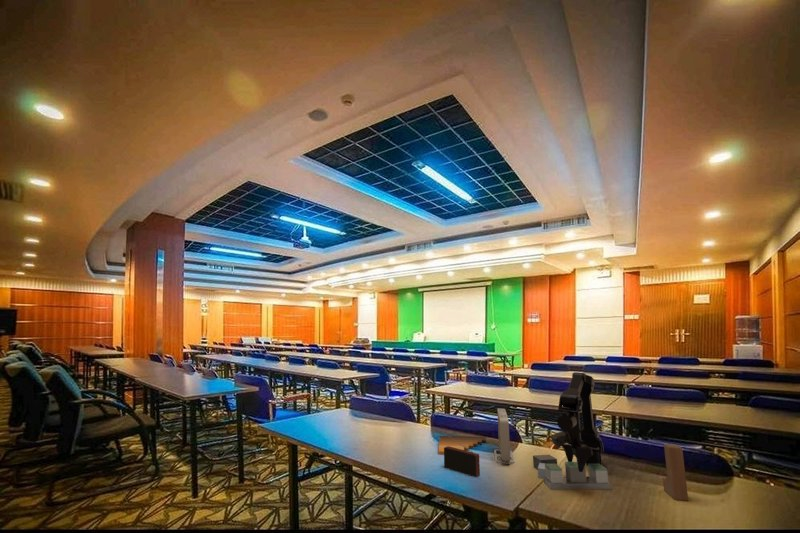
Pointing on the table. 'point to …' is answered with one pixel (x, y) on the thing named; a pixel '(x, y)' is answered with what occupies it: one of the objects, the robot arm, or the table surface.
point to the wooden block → (675, 473)
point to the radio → (461, 461)
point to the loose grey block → (543, 460)
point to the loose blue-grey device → (541, 470)
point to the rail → (594, 481)
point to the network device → (503, 439)
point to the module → (574, 472)
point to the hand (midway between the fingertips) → (575, 467)
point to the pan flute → (463, 440)
